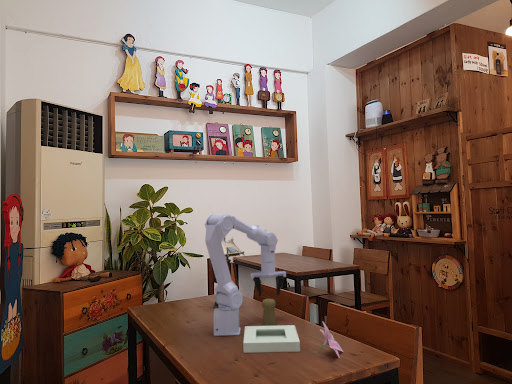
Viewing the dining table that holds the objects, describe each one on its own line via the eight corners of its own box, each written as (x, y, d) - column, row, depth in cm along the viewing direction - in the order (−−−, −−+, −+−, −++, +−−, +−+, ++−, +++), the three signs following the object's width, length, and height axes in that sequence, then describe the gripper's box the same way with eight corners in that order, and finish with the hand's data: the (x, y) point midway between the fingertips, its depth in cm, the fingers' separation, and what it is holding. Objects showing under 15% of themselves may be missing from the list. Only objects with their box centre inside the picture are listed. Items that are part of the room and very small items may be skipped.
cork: (276, 331, 143) (275, 301, 144) (260, 330, 144) (259, 300, 145) (278, 326, 149) (277, 297, 150) (263, 325, 150) (262, 297, 151)
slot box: (243, 352, 122) (243, 343, 122) (245, 334, 140) (245, 326, 140) (300, 351, 122) (299, 341, 122) (294, 333, 140) (294, 325, 140)
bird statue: (252, 310, 175) (250, 232, 177) (228, 315, 167) (226, 234, 169) (233, 303, 188) (231, 231, 190) (209, 307, 181) (208, 233, 183)
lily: (326, 367, 112) (340, 340, 112) (299, 344, 119) (313, 319, 119) (343, 367, 119) (356, 342, 119) (317, 346, 127) (330, 322, 127)
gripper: (252, 263, 152) (253, 298, 152) (287, 262, 155) (288, 296, 155) (249, 261, 159) (250, 294, 159) (283, 260, 162) (283, 292, 162)
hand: (268, 295), depth 157 cm, fingers open, 7 cm apart
